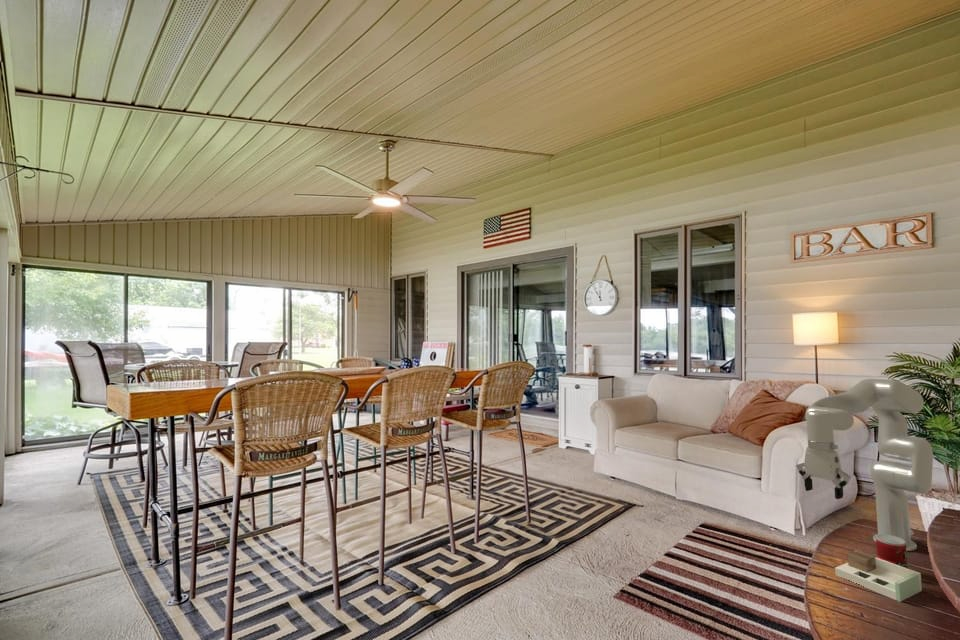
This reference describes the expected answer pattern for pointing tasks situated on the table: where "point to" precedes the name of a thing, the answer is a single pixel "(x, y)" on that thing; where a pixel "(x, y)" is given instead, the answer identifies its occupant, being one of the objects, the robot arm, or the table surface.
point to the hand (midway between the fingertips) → (823, 494)
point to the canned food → (891, 549)
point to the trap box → (884, 579)
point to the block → (861, 561)
